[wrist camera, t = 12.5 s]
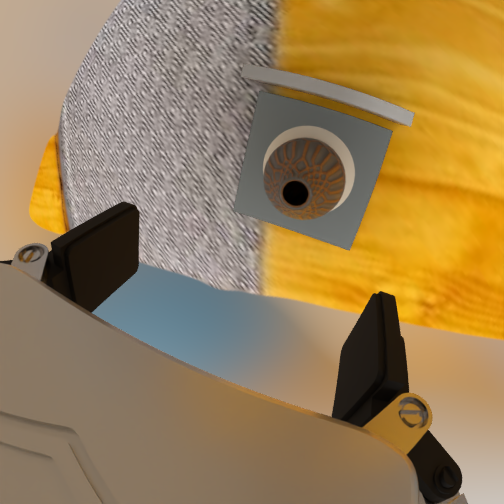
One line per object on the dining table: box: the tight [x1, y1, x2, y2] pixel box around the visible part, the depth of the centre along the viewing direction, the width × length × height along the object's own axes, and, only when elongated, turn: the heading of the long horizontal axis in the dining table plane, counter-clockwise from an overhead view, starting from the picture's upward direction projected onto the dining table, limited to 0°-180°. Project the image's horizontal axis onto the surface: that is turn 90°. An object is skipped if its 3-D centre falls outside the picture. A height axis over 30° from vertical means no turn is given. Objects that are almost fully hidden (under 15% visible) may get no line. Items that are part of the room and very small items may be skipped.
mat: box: [233, 91, 393, 250], centre depth 28 cm, size 13×13×1 cm
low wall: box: [241, 64, 414, 127], centre depth 22 cm, size 1×14×5 cm, turn 78°
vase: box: [263, 137, 346, 220], centre depth 24 cm, size 7×7×9 cm
